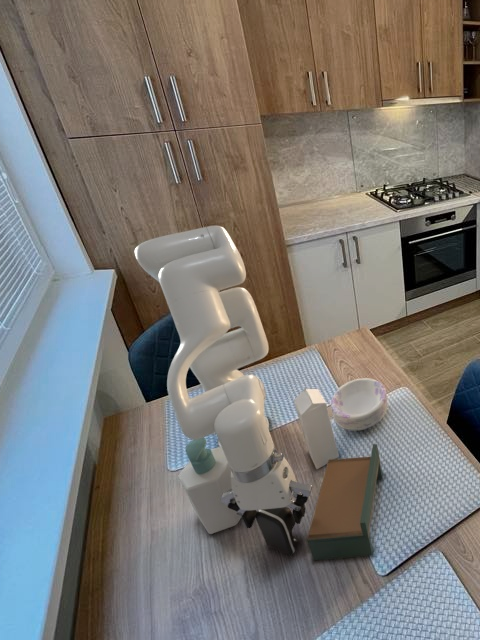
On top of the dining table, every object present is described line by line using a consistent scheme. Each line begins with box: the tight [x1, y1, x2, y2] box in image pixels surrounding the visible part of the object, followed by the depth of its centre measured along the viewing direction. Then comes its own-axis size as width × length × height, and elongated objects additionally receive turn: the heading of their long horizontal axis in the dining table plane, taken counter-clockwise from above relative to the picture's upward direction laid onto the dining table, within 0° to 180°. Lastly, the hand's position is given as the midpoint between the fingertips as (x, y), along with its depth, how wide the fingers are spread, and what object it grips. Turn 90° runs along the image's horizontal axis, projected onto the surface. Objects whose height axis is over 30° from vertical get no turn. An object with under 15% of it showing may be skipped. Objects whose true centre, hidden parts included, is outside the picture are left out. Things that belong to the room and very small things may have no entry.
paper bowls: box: [330, 377, 389, 432], centre depth 114 cm, size 15×15×8 cm
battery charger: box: [255, 506, 300, 557], centre depth 83 cm, size 7×4×11 cm, turn 70°
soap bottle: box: [177, 437, 242, 535], centre depth 88 cm, size 10×9×22 cm
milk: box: [293, 384, 340, 470], centre depth 100 cm, size 6×6×22 cm
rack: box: [306, 443, 384, 561], centre depth 89 cm, size 12×18×11 cm, turn 4°
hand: (276, 519), depth 82 cm, fingers open, 9 cm apart
